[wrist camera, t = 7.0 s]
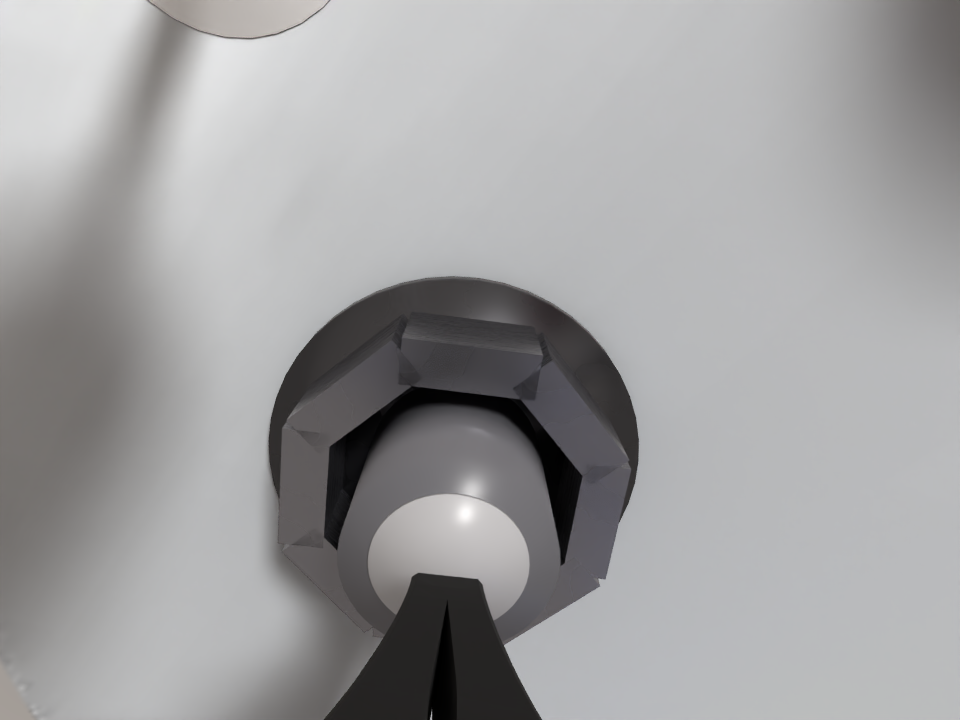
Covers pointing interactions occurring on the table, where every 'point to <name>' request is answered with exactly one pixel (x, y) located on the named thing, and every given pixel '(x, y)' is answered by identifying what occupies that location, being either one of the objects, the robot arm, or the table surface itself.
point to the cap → (451, 508)
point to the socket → (463, 368)
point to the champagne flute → (240, 15)
